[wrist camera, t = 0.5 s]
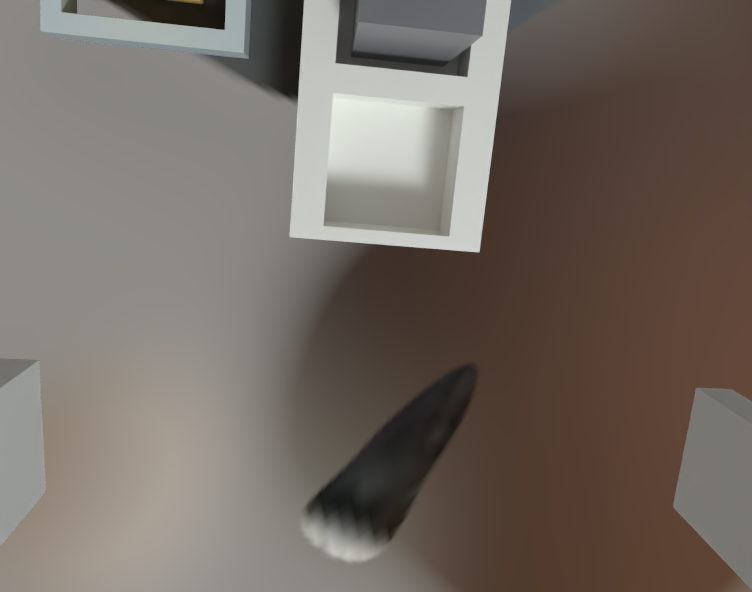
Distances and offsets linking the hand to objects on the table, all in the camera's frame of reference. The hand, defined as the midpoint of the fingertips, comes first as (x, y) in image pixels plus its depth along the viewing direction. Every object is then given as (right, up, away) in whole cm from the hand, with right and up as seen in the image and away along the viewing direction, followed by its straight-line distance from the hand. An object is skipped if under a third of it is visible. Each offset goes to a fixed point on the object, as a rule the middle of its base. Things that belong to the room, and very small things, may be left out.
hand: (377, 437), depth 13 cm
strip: (+1, +18, +22) cm, 28 cm away
